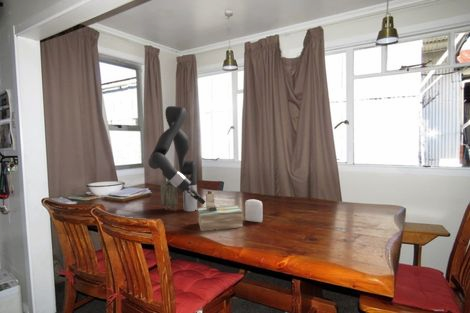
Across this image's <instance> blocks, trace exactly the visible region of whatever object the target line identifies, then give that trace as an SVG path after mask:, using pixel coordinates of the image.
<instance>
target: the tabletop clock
mask: <svg viewBox="0 0 470 313" xmlns="http://www.w3.org/2000/svg"><path fill="white" fill-rule="evenodd" d="M160 199H161V200H160V201H161V205H162V206H163V207H166V208H165V209H164V210H165V211H166V210H167V211H168V210H169V208H168V207H170V208H171V209H173V212H177V208H175V206H178V203H179V202H178V189H177V188H176V187H175V186H174V185H173V184H172V183H171V182H170V181H169V180H168V179H167V180H166V181H165V182H164V184H162V185H160Z"/></svg>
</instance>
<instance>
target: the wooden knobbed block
mask: <svg viewBox="0 0 470 313" xmlns="http://www.w3.org/2000/svg"><path fill="white" fill-rule="evenodd" d="M205 203H206V204H205V207H206V209H207V211H209V208H213V207H214V205H215V193H214V192H213V191H212V190H207V192H206V193H205Z"/></svg>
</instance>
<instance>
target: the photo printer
mask: <svg viewBox="0 0 470 313" xmlns="http://www.w3.org/2000/svg"><path fill="white" fill-rule="evenodd" d="M244 205H245V206H244V211H245V216H244V218H245V221H247V222H248V221H249V222H253V223H262V222H263V220H264V219H263V218H264V217H263V202H262V201H261V200H258V199H253V198H252V199H247V200H245V203H244Z"/></svg>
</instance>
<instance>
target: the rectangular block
mask: <svg viewBox="0 0 470 313" xmlns="http://www.w3.org/2000/svg"><path fill="white" fill-rule="evenodd" d="M197 211H198V215H197V216H198V226H199V229H200V231H201V232H205V231H213V230H214V229H216V230H225V229H236V228H243V213H244V211H243V210H242V209H241V208H240V207H239V206H238V205H235V204H234V205H221V206H220V205H219V206H216V205H215V204H214V207H213V208H209V211H207V209H206V206H205V207H197Z"/></svg>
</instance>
